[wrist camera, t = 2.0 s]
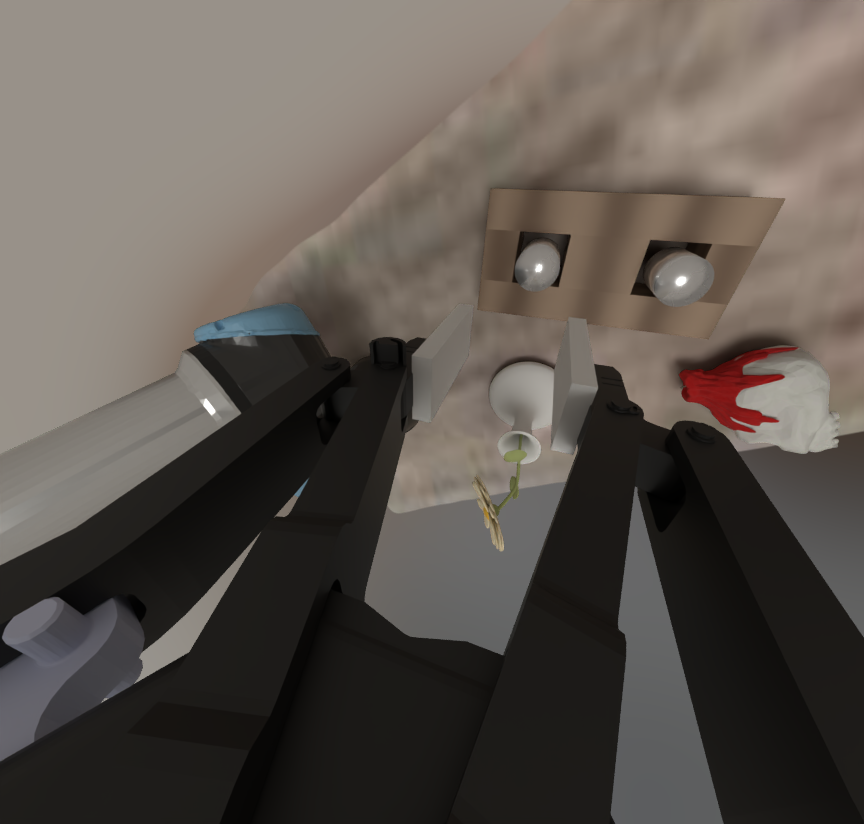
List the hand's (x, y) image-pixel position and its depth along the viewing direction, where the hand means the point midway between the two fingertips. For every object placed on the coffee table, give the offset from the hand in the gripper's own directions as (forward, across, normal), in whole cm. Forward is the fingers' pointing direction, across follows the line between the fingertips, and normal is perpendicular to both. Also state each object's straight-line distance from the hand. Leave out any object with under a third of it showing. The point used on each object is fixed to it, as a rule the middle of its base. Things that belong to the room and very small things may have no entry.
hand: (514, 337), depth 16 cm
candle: (+29, +26, -12) cm, 41 cm away
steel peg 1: (+23, 0, 0) cm, 23 cm away
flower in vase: (+29, +2, -20) cm, 35 cm away
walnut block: (+29, +6, 0) cm, 29 cm away
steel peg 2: (+23, +12, 0) cm, 26 cm away
